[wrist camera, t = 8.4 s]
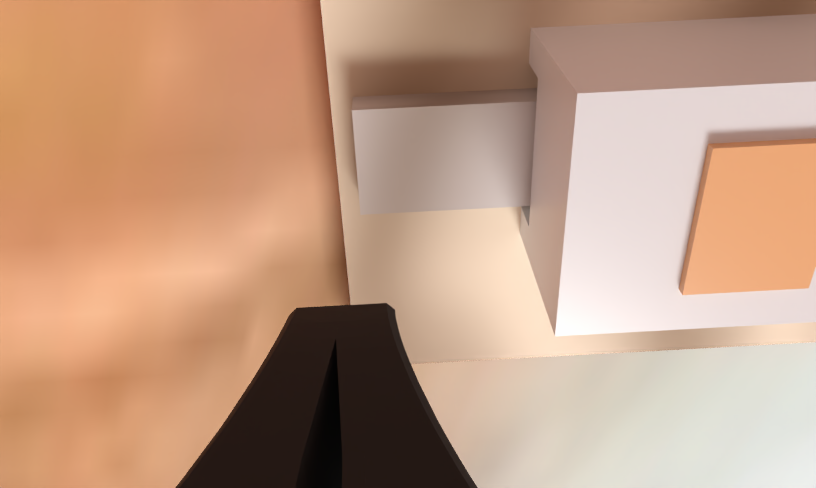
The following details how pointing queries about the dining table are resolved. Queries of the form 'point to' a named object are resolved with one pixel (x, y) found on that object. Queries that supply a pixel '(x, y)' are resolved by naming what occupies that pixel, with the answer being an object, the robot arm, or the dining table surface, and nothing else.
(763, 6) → the rail board
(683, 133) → the block
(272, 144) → the dining table surface
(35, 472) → the dining table surface
